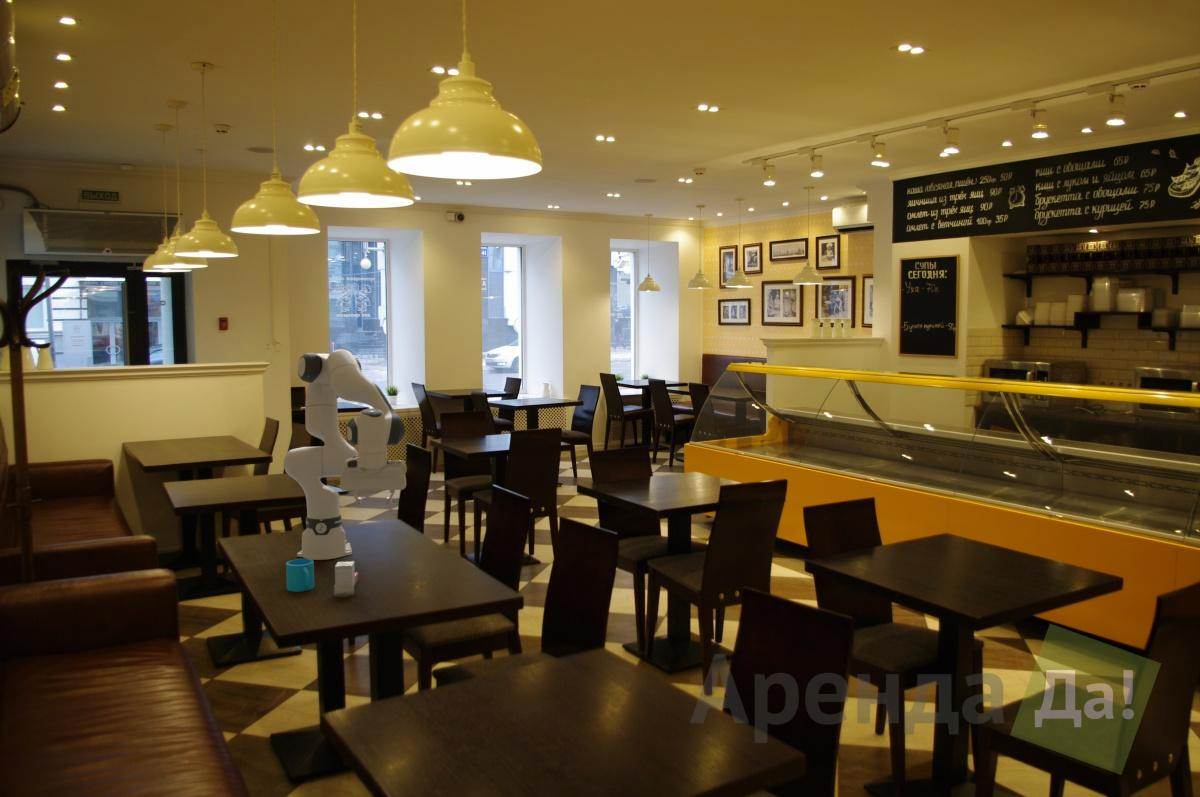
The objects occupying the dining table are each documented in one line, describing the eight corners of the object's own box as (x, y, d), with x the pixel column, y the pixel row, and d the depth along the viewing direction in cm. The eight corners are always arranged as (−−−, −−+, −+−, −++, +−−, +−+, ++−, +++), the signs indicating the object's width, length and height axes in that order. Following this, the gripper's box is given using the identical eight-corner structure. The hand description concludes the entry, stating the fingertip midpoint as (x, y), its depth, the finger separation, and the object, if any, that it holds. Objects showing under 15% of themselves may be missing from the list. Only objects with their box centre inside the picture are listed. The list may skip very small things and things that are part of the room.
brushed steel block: (338, 582, 274) (337, 561, 274) (354, 582, 275) (354, 561, 274) (335, 587, 269) (334, 566, 269) (352, 586, 270) (351, 565, 269)
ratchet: (343, 580, 287) (342, 560, 287) (362, 579, 288) (362, 560, 287) (332, 598, 269) (331, 576, 268) (352, 597, 269) (352, 576, 269)
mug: (283, 586, 280) (282, 561, 279) (309, 582, 285) (308, 557, 284) (295, 596, 270) (294, 570, 270) (322, 591, 275) (321, 565, 274)
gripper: (407, 458, 287) (408, 500, 288) (342, 459, 284) (343, 501, 286) (405, 462, 280) (406, 505, 282) (338, 462, 278) (339, 506, 280)
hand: (373, 503), depth 284 cm, fingers open, 8 cm apart
